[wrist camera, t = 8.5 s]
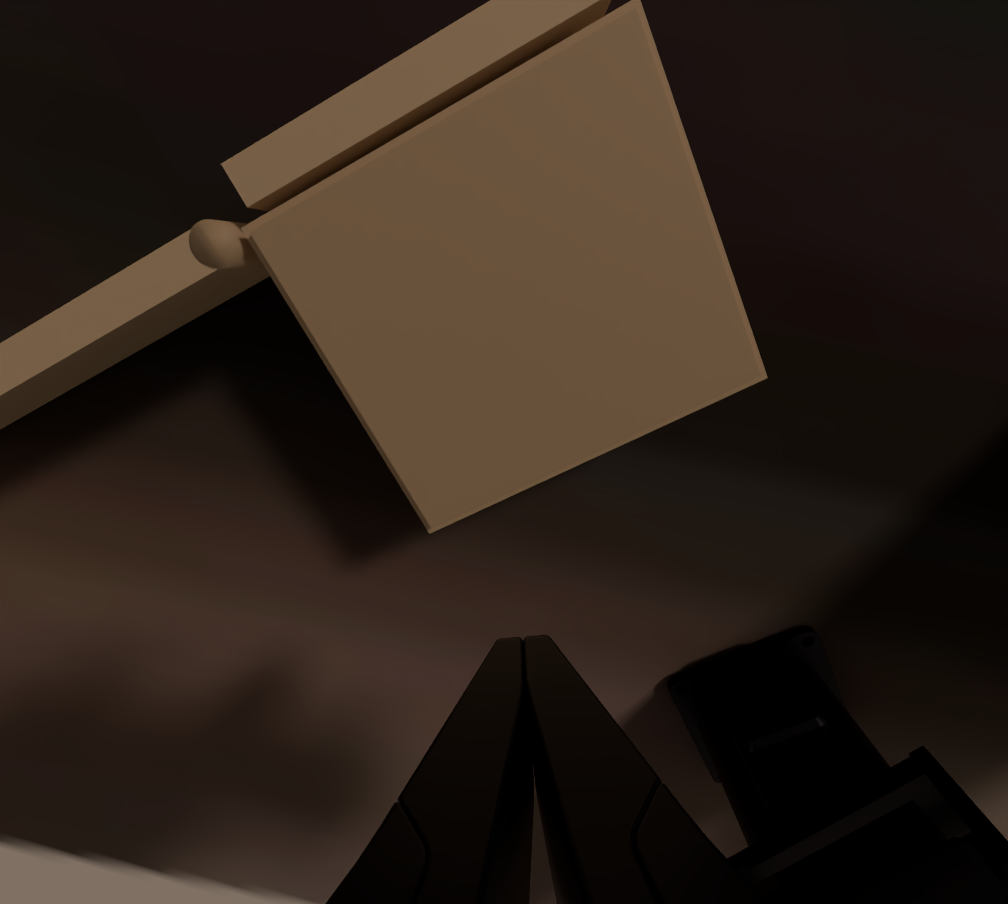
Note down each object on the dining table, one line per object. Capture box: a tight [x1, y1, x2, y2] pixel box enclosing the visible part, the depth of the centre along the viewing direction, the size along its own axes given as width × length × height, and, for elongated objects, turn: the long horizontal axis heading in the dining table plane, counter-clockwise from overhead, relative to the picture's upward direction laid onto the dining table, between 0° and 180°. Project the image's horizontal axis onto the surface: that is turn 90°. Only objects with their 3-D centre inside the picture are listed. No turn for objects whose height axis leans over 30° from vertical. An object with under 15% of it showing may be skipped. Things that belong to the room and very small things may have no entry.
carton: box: [221, 0, 768, 534], centre depth 16 cm, size 10×10×5 cm
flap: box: [0, 219, 270, 429], centre depth 16 cm, size 14×1×5 cm, turn 117°
